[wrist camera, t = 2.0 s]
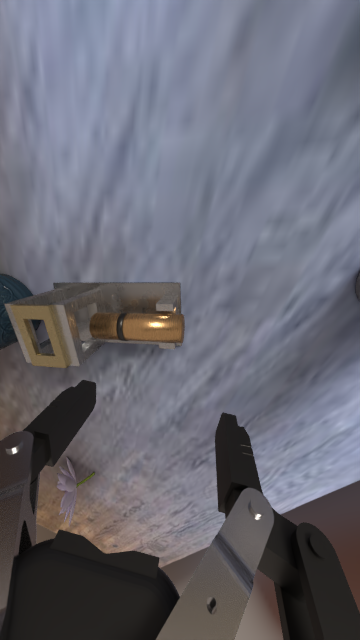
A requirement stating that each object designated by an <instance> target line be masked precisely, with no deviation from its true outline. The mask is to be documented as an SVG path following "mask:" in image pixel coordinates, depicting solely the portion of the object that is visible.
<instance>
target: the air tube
mask: <svg viewBox="0 0 360 640" xmlns="http://www.w3.org/2000/svg"><path fill="white" fill-rule="evenodd" d="M184 328H185V322H184V315H183V314H142V313H128V312H123V313H100V312H97V313H95V314H93V316H92V317H91V320H90V324H89V330H90V333H91V336H92V337H93V338H95V339H109V340H121V341H129V340H130V341H151V342H172V343H183V339H184Z"/></svg>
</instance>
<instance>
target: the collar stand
mask: <svg viewBox="0 0 360 640" xmlns="http://www.w3.org/2000/svg"><path fill="white" fill-rule="evenodd" d="M53 284H54V288H55V289H54V290H51V291H47V292H44V293H40V294H37V295H33V296H30V297H26V298H23V299H19V300H16V301H12V302H9V303H5V304H4V305H5V307H6V310H7V313H8V315H9V318H10V320H11V323H12V326H13V328H14V331H15V333H16V336H17V338H18V341H19V344H20V346H21V349H22V351H23V354H24V356H25V359H26V362H28V363H32V365H33V366H46V367H60V368H67V367H68V366H69V365H70V366H80V365H82V364H83V363H84V362H85V361H86V360H87V359H88V358H89V357H90V356H91V355H92V354H93V353H94V352H96V351H97V350H98V349H99V348H100V347H101V346H102V345H103V344H104V343H105V342H114V343H135V344H155V345H159V348H163V349H175V347H176V346H182V343H172V342H151V341H130V340H129V341H121V340H109V339H95V338H93V337H92V336H91V333H90V330H89V324H90V320H91V317H92V316H93V314H95V313H97V312H100V313H123V312H128V313H142V314H181V291H180V283H53ZM47 304H48V305H47ZM31 319H39V320H44V322H45V325H46V329H47V332H48V335H49V339H48V340H46V341H44V342H43V343H41V344H39V342H38V339H37V336H36V333H35V330H34V327H33V324H32V321H31ZM81 341H86V342H85V343H83V344H82V343H81ZM53 351H54V354H50V353H52V352H53Z"/></svg>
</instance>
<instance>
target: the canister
mask: <svg viewBox="0 0 360 640" xmlns="http://www.w3.org/2000/svg"><path fill="white" fill-rule="evenodd" d="M30 296H33V295H32V293H31V292H30V291H29V290H28V288H27V287H26V286H25V285H23V284H22V283H21V282H20V281H18V280H17V279H15V278H13V277H11V276H9V275H6V274H0V350H1V349H3V348H5V347H7V346H9V345H11V344H13V343H15V342H17V341H18V338H17V336H16V333H15V331H14V328H13V326H12V323H11V320H10V318H9V315H8V313H7V310H6V307H5V305H4V304H5V303H9V302H12V301H16V300H19V299H23V298H26V297H30ZM31 321H32V324H33V327H34V330H35V331H36V330H37V328H38V326H39V324H40V320H39V319H31Z"/></svg>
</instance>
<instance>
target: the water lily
mask: <svg viewBox="0 0 360 640" xmlns="http://www.w3.org/2000/svg"><path fill="white" fill-rule="evenodd" d="M66 459H67V465H68V468H69V471H70V472H71V474H72V476H73V478H72V476H71V475H70V474H69V473H68V472H67V471H66V470H65V469H64V468H62V467H60V466H59V467H60V469H61V471H62V472H63V474H59V473H57V474H58V478H59V482H58V485H57V487H58V489H60V490H62V491H64V490H65V492H66V493H65V494H64V496H63V498H62V500H61V507H62V509H61V511H60V514H61V513H62V514H63V513H64V512H65V511H66V509H67V511H66V514H65V519H64V522H65V520H66V518H67V516H68V514H69V511H70V509H71V511H70V518H69V525H70V523H71V520H72V516H73V513H74V508H75V503H76V494H77V486H79V485H81V484H82V483H84V482H85V481H87V480H88V479H90V478H91V477H92V476H93V475H95V473H94V472H93V473H92V474H91V475H90V476H88V477H87V478H86V479H84V480H83V481H81V482H80V483H78V484H77V480H76V476H75V472H74V469H73V466H72V464H71V462H70V461H69V459H68V458H67V456H66ZM66 490H67V491H66ZM60 514H59V515H60Z"/></svg>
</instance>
